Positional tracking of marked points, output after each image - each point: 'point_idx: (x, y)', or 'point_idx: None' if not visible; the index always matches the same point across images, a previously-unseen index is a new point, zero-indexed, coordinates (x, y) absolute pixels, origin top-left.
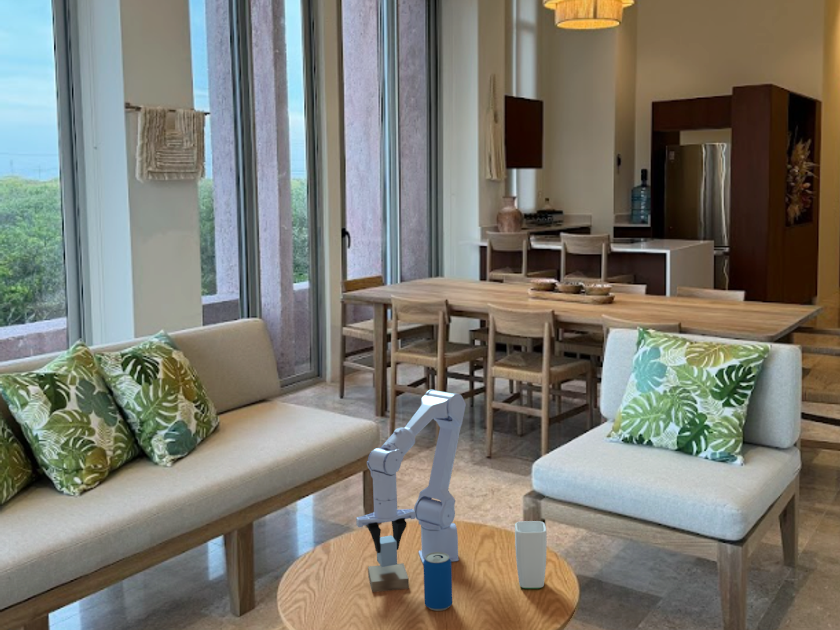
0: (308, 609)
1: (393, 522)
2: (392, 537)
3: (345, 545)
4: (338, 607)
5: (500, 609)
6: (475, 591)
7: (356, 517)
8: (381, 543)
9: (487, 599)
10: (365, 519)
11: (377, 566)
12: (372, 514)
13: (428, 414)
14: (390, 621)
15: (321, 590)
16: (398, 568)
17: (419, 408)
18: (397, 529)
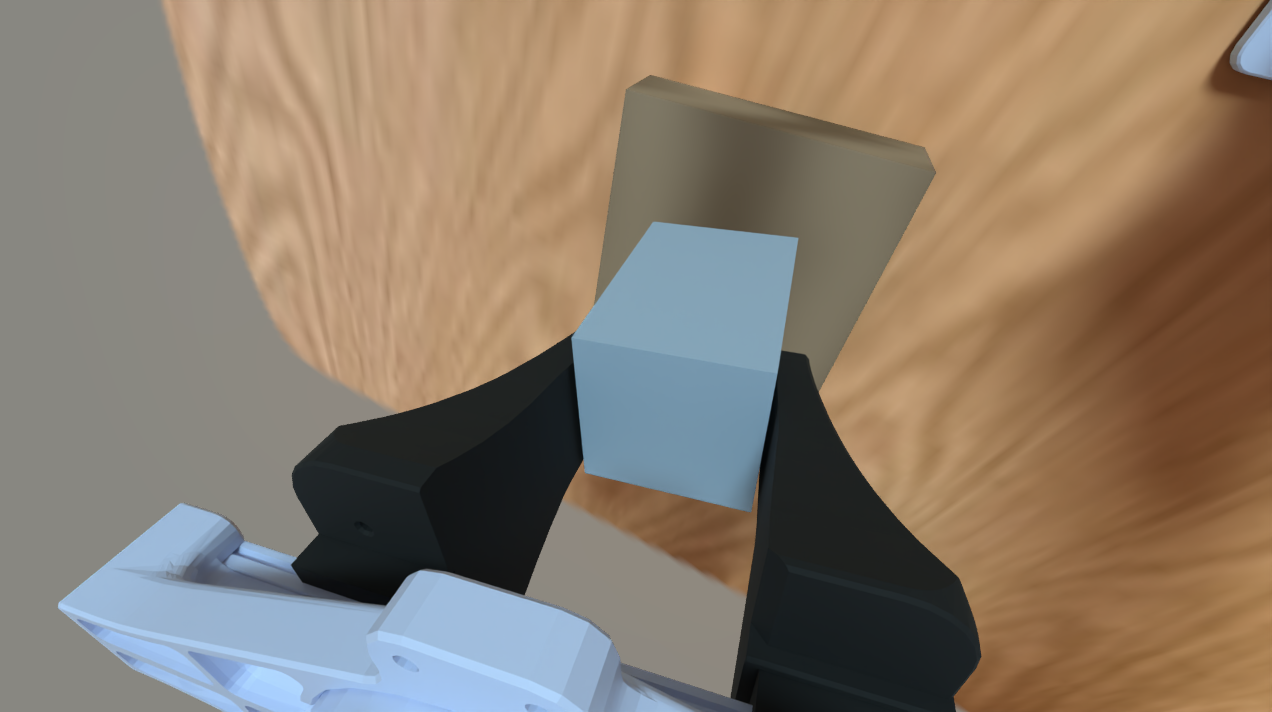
0: (329, 302)
1: (751, 613)
2: (755, 426)
3: None
4: (445, 349)
5: (1053, 685)
6: (1120, 564)
7: (61, 608)
8: (592, 467)
9: (1089, 628)
10: (222, 707)
11: (697, 128)
12: (294, 642)
13: None
14: (615, 522)
15: (358, 145)
16: (834, 247)
17: None
18: (736, 667)
